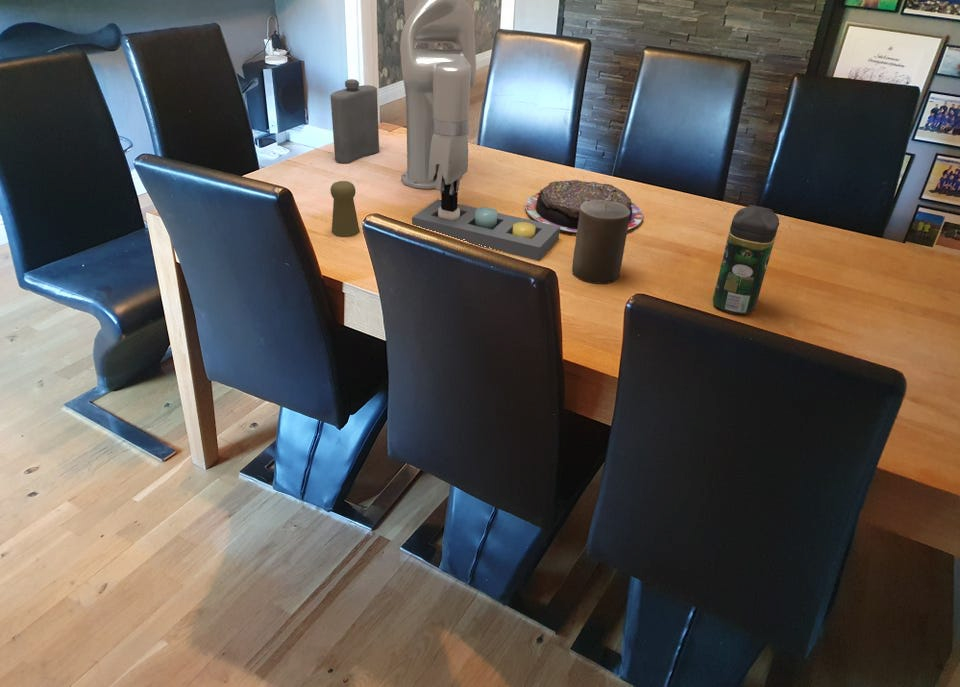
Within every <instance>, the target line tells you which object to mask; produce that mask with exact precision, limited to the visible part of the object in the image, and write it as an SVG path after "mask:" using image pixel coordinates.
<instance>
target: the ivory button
mask: <svg viewBox="0 0 960 687" xmlns="http://www.w3.org/2000/svg"><path fill="white" fill-rule="evenodd" d="M438 217H440V218H445V219H449V220H453V221H456V220H457V219H458V218H459V217H460V209H459V208H458V207H457V209H456V210H455V211H454V212H451V211H446V210H442V209H441V207H439V209H438Z"/></svg>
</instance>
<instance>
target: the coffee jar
mask: <svg viewBox="0 0 960 687" xmlns="http://www.w3.org/2000/svg"><path fill="white" fill-rule="evenodd" d="M779 218H780V217H779V216H778V215H777V213H776V212H774V210H773V209H772V208H767V207H763V206H757V205H751V204H750V205H748V206H746V207H742V208H740V209H738V210H737V211H736V212H735V214H734V216H733V218H732V221H731V225H730V228H729V231H728V235H727V239H726V244H725V247H724V252H723V255H722V259H721V264H720V267H719V268H720V269H719V272H718V277H717V280H716V285H715V289H714V293H713V297H712V303H713V305H714V307H717V308H719V309H720V310H722V311H724V312H726V313H729V314H733V315H748V314H751V313H752V312H753V310H754V309H755V308H756V307H757V303H758V300H759V296H760V292H761V289H762V285H763V282H764V277H765V274H766V271H767V268H768V264H769V261H770V257H771V254H772V250H773V247H774V244H775V241H776V236H777V232H778V228H779V225H780V219H779Z"/></svg>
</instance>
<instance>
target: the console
mask: <svg viewBox="0 0 960 687" xmlns="http://www.w3.org/2000/svg"><path fill="white" fill-rule="evenodd" d="M439 207H441V199H439V198H437V199H436V200H435V201H434V202H431V204H429V205H428V206H426V207H424V208H423V209H421V210H420V211H418V212H417V213H416V214H415V215H413V216H412V217H411V225H412V224H413V225H416V226H420V227H422V228H425V229H429V230H432V231H436V232H439V233H442V234H445V235H448V236H451V237H454V238H457V239H460V240H463V239H465V240H463V241H467V242H469V243H472V244H475V245H474V246H476V245H478V247H480V246H481V245H482V248H484V246H486V247H485V249H490V248H492V249H490V250H493V251H497V250H499V251H498V252H501V251H503V252H502V253H505V252H507V253H506V254H509V253H510V255H513V256H518V257H521V258H527V259H530V260H533V261H540V260H541V259H542V258H543V257H544V256H545V254H547V252H548V251H549V250H550V249H551V248H552V247H553V246H554V245H555V244H556V243H557V242H558V241H559V238H560V232H561V231H560V227H559V226H555V225H551V224H546V223H542V222H537V221H535V220H534V219H532V220H531V219H527V218H522V217H520V216H519V217H518V216H514V215H511V214H510V215H509V214H506V213H500V212H497V226H496V227H495V228H494V229H493V230H492V229H487V228H483V227H479V226H475V210H476V209H478V208H479V207H475V206H470V205H467V204H461V203H457V207H458V208H459V209H460V217H459V218H458V219H457V220H456V221H453V220H449V219H445V218H440V217H438V209H439ZM519 222H527V223H531V224H533V225H534V226H535V227H536V228H535V236H534V237H533V238H532V239H530V238H526V237H521V236H517V235H513V234H512V233H513V225H514V224H515V223H519ZM472 244H471V245H472ZM479 244H480V245H479ZM489 247H490V248H489ZM494 249H496V250H494Z"/></svg>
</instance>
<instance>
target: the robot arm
mask: <svg viewBox="0 0 960 687" xmlns="http://www.w3.org/2000/svg"><path fill="white" fill-rule="evenodd" d="M403 9H404V10H403V11H404V24H403V28H402V31H401V35H400V40H399V41H400V44H399V45H400V46H399V50H400V62H401V63H400V64H401V73H402V79H403V85H404V93H405V94H404V95H405V105H406V106H405V110H406V111H405V112H406V113H405V114H406V159H407V160H406V161H407V163H406V165H407V168H406V169H407V170H405V171H404V172H403V173H401V182H402V183H403V184H404V185H406V186H409V187H411V188H414V189H415V188H416V189H420V190H421V189H422V190H424V189H425V190H430V189H432V190H433V189H435V190H436V191H438V192H439V191H440V200H441V209H442V210H446V211H451V212H454V211H455V210H456V209H457V204H458V194H459V188H460V182H461V180H462V179H463V176H464V175H466V173H467V172H468V166H469V138H468V137H469V133H470V108H471V106H470V105H471V103H470V102H471V101H470V100H471V90H472V89H473V88H474V86H475V85H476V84H475V83H476V80H477V79H476V78H477V57H476V36H475V34H476V33H475V18H474V13H473V9H472V6H471V4H470V3H469V2H468V1H467V0H403ZM415 43H418V44H451V45H453V48H420V49H419V48H418V49H415Z"/></svg>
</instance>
